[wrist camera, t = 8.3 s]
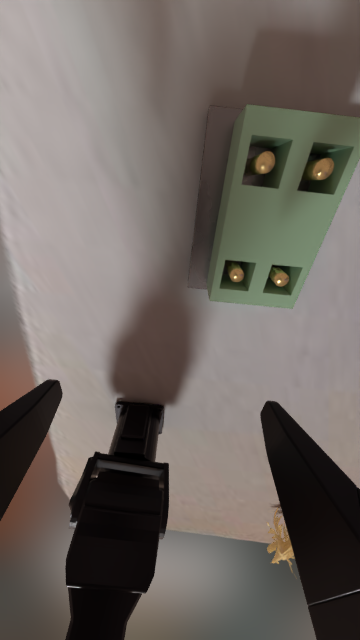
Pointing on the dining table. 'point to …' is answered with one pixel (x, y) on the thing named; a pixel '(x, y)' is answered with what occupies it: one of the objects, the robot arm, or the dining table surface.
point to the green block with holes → (279, 202)
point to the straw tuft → (280, 543)
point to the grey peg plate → (254, 174)
